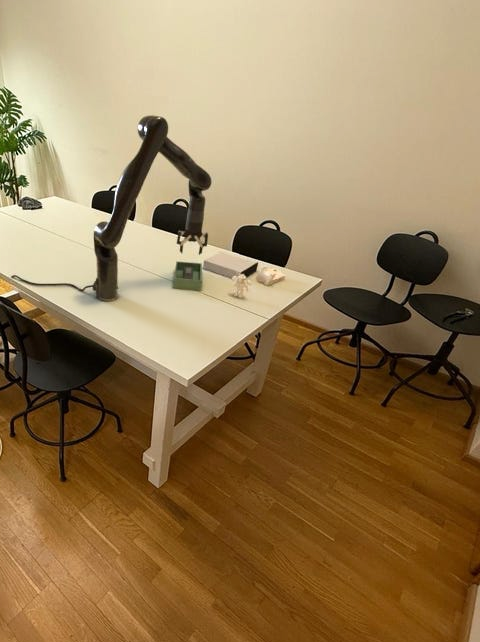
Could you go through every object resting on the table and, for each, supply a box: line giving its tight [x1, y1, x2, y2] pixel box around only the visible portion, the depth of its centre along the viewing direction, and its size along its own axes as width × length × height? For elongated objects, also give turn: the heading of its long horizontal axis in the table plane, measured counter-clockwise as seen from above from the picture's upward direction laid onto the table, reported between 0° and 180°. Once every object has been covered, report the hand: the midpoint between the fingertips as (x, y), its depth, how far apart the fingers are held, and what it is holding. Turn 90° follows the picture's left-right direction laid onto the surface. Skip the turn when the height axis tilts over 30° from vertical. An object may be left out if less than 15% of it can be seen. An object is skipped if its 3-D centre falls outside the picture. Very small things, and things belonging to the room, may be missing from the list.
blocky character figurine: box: [231, 272, 252, 299], centre depth 169 cm, size 9×4×12 cm, turn 53°
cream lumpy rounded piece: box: [255, 265, 286, 286], centre depth 185 cm, size 13×7×8 cm, turn 124°
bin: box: [172, 261, 203, 292], centre depth 184 cm, size 13×21×5 cm, turn 171°
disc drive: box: [202, 251, 259, 279], centre depth 195 cm, size 18×22×5 cm
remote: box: [183, 266, 193, 280], centre depth 184 cm, size 5×16×3 cm, turn 171°
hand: (190, 253), depth 177 cm, fingers open, 8 cm apart
